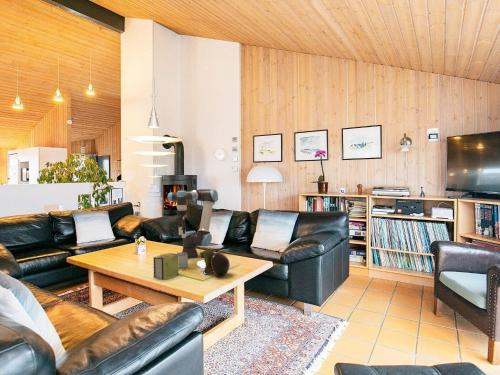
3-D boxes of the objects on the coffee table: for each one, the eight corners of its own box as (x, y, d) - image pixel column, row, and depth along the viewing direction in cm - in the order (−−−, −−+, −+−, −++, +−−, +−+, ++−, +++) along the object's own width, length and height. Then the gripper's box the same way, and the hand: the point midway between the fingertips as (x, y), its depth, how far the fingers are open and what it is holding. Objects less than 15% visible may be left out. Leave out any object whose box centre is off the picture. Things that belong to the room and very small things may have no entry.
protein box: (178, 274, 235) (178, 254, 234) (163, 280, 222) (163, 258, 221) (168, 272, 240) (168, 252, 240) (153, 277, 227) (153, 256, 226)
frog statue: (217, 285, 224) (192, 270, 236) (230, 278, 237) (205, 264, 249) (222, 262, 220) (196, 248, 232) (235, 256, 233) (209, 243, 245)
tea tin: (186, 266, 255) (186, 251, 255) (188, 268, 249) (187, 253, 248) (177, 267, 253) (176, 252, 252) (178, 269, 246) (178, 254, 245)
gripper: (174, 208, 259) (174, 234, 260) (180, 211, 236) (180, 239, 237) (183, 208, 262) (183, 233, 262) (189, 211, 239) (190, 238, 240)
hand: (182, 236), depth 250 cm, fingers open, 13 cm apart
